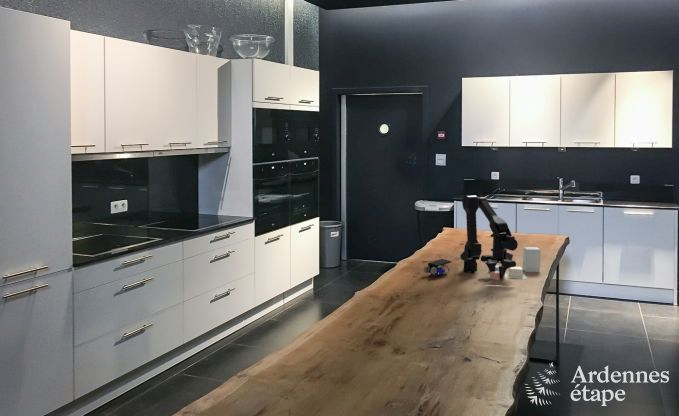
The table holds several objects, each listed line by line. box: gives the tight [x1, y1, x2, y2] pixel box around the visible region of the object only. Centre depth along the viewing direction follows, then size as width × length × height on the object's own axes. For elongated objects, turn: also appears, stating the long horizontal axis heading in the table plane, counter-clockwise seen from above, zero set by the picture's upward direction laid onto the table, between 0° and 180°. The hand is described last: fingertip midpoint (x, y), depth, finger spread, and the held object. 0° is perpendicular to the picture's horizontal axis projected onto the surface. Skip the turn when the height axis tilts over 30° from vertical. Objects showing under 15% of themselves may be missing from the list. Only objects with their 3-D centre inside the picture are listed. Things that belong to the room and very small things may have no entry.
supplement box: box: [521, 246, 542, 273], centre depth 350 cm, size 7×7×13 cm
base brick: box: [508, 266, 524, 277], centre depth 337 cm, size 6×6×4 cm
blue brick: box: [488, 264, 500, 273], centre depth 345 cm, size 5×5×4 cm
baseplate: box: [505, 273, 528, 280], centre depth 337 cm, size 12×10×1 cm
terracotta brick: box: [489, 271, 506, 281], centre depth 331 cm, size 5×5×4 cm
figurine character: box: [422, 258, 453, 278], centre depth 339 cm, size 7×8×15 cm
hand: (497, 278), depth 331 cm, fingers closed on terracotta brick, 5 cm apart
